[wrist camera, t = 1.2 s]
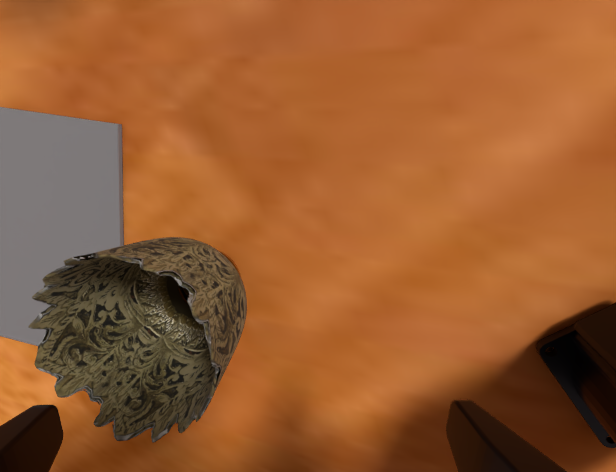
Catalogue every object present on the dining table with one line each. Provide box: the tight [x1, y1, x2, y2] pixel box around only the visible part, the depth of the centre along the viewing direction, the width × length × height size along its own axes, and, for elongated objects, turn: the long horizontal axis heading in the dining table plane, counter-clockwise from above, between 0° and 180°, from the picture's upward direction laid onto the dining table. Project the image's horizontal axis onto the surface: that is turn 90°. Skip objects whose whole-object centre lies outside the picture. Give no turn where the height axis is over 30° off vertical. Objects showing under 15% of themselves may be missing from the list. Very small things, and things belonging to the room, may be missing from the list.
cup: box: [28, 237, 247, 443], centre depth 16 cm, size 8×7×8 cm
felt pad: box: [0, 107, 124, 346], centre depth 22 cm, size 10×15×1 cm, turn 173°
